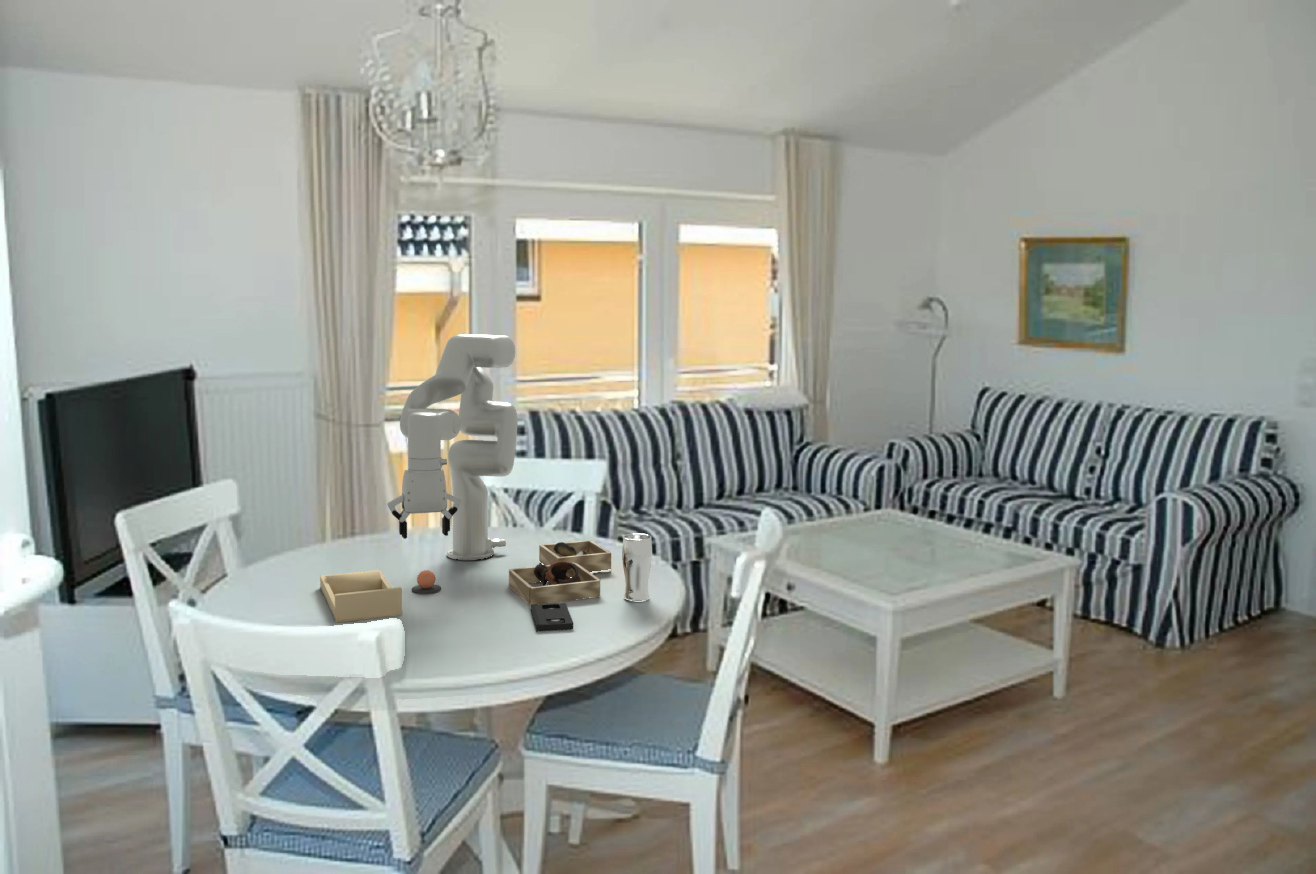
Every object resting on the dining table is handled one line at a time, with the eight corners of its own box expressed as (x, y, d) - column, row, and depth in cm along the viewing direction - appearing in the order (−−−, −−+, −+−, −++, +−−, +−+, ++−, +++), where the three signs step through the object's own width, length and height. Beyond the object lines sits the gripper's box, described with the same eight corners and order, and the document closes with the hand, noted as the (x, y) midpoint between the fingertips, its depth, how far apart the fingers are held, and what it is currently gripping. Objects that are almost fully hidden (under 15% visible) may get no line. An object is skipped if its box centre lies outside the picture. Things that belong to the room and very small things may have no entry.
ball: (433, 584, 243) (433, 567, 242) (437, 589, 239) (437, 571, 238) (415, 586, 241) (415, 569, 240) (419, 591, 237) (418, 573, 236)
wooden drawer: (380, 597, 246) (379, 558, 245) (402, 632, 221) (401, 588, 220) (320, 603, 240) (319, 563, 239) (336, 640, 215) (335, 595, 214)
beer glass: (629, 604, 231) (630, 541, 229) (616, 596, 237) (617, 534, 235) (656, 601, 234) (657, 538, 232) (643, 593, 240) (644, 532, 238)
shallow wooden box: (575, 577, 252) (575, 562, 252) (601, 597, 237) (601, 580, 236) (507, 585, 245) (507, 569, 244) (530, 605, 229) (530, 588, 229)
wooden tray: (590, 558, 272) (590, 540, 271) (611, 571, 258) (611, 552, 258) (539, 563, 265) (539, 544, 265) (557, 577, 252) (557, 558, 252)
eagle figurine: (585, 559, 266) (552, 552, 266) (589, 541, 262) (555, 534, 261) (581, 580, 261) (547, 574, 260) (585, 562, 256) (550, 555, 256)
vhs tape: (573, 632, 213) (573, 623, 213) (536, 634, 212) (536, 624, 211) (565, 611, 227) (565, 602, 227) (530, 613, 225) (530, 604, 225)
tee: (437, 584, 244) (437, 582, 244) (444, 592, 238) (444, 590, 238) (408, 587, 241) (408, 586, 241) (414, 595, 235) (414, 593, 235)
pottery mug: (583, 587, 246) (587, 563, 241) (569, 613, 239) (573, 589, 234) (538, 571, 248) (541, 548, 243) (523, 597, 241) (525, 573, 236)
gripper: (457, 461, 242) (457, 530, 244) (384, 464, 235) (384, 535, 237) (464, 465, 236) (464, 536, 238) (389, 468, 228) (390, 542, 230)
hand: (424, 536), depth 237 cm, fingers open, 9 cm apart
